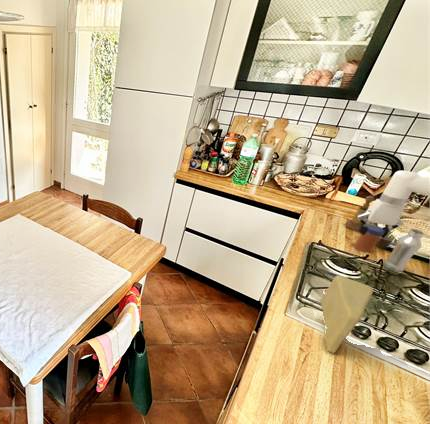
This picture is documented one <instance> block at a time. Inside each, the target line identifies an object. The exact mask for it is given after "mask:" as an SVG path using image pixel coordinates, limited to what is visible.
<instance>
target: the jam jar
mask: <svg viewBox="0 0 430 424" xmlns="http://www.w3.org/2000/svg"><path fill="white" fill-rule="evenodd" d="M381 237H382V235H374V234H371V233H368V232H365V234H364V235H362V234H361V233H359V236H357V239H356V240H355V241H354V243H353V247H354V248H355V249H357V250H358V251H360V252H364V253H373V251H374V250H375V248H376V247H377V246H376V245H377V243H378V242H379V240H380V239H381Z"/></svg>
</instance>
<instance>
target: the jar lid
mask: <svg viewBox="0 0 430 424" xmlns="http://www.w3.org/2000/svg"><path fill="white" fill-rule="evenodd" d="M367 227H368V229H367V230H366V232H368V233H371V234H374V235H383V234H384V233H385V230H384V229H383V227H381V226H378V225H375V224H370V225H368V226H367Z"/></svg>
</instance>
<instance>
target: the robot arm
mask: <svg viewBox="0 0 430 424" xmlns="http://www.w3.org/2000/svg"><path fill="white" fill-rule="evenodd" d="M412 193H415V194H419V195H423V196H427V197H430V165H429V166H427V167H425V168H423V169H421V170H419V171H418V172H414V171H410V170H397V171H395V172H394V174H393V175H392V177H391V178H390V180H389V182H388V184H387V185H386V187H385V189H384V190H383V192H382V193H381V195H380V197H379V198H376V199H374V200H373V201H372V202H371V203H370V206H369V207H368V208H367V209H368V210H367V211H366V213H364V214H362V215H359V216H357V217H358V219H359V221H360V222H361V224H362V225H361V227H360V228H359V231H358V233H359V234H362V235H364V234H365V232H366V230H367V229H368V227H367V226H368V225H372V224H378V225H384V226H383V227H382V228H383V229H384V230H385V233H384V234H383V235H382V238H385V236H387V237H388V234H389V233H390V232H392V231H393V230H394V229H398V228H399V227H402V226H403V225H405V223H404V221H402V219H401V217H402V215H403V213H404V211H405V208H406V205H405V204H406V203H410V202H411V199H410V196H411V194H412ZM363 218H364V220H363Z"/></svg>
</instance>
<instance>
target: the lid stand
mask: <svg viewBox="0 0 430 424" xmlns="http://www.w3.org/2000/svg"><path fill="white" fill-rule="evenodd" d="M392 242H393V238H392V237H389V236H388V235H387V236H385V238H382V237H381V239H380V240H379V242H378V243H377V245H376V246H375V247H377V248H379V249H383V250H386V249H388V248H389V247H390V245H391V243H392ZM387 246H388V247H387Z"/></svg>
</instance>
